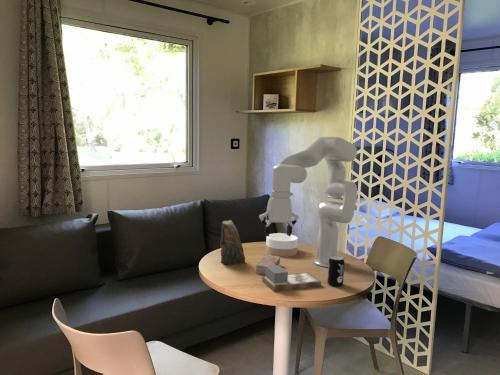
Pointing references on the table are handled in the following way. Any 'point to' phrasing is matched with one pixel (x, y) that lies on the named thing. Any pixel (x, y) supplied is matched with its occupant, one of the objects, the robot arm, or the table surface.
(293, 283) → the board
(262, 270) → the brick
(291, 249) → the bowl
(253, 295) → the table surface
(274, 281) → the block
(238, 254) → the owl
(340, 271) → the beverage can
